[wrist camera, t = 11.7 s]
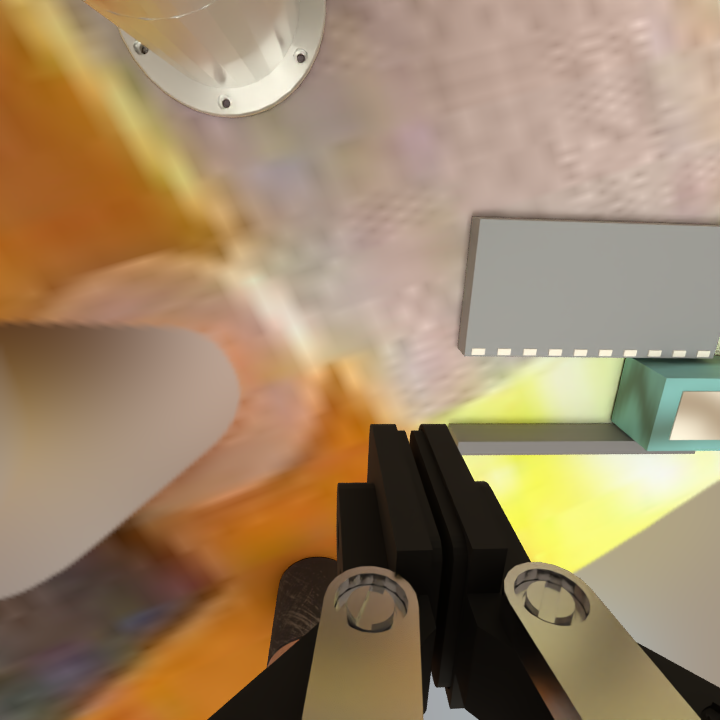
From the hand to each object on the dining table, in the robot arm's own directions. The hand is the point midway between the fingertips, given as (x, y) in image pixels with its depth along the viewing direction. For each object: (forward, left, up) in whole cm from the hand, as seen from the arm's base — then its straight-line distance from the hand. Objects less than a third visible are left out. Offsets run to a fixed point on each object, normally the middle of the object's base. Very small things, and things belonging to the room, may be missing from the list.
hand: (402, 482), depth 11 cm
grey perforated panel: (+5, +19, -27) cm, 33 cm away
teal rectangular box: (+9, +28, -27) cm, 40 cm away
